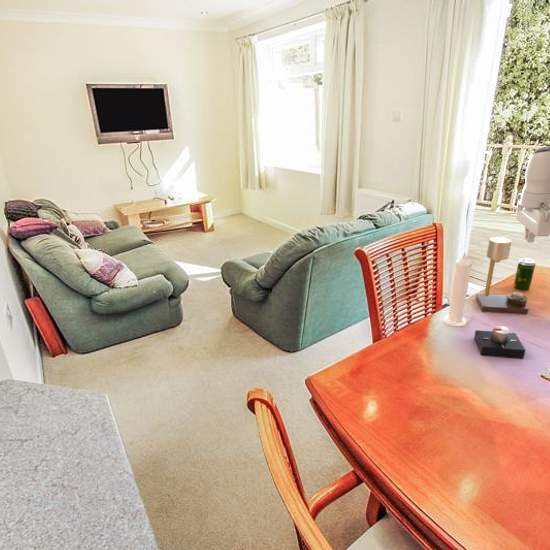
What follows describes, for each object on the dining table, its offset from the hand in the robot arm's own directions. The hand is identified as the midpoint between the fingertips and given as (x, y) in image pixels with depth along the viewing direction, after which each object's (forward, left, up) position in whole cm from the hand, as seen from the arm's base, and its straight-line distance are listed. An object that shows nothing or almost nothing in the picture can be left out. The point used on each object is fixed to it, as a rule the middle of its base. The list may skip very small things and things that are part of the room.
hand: (528, 241), depth 125 cm
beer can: (-5, -12, -24) cm, 28 cm away
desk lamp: (+9, +3, -20) cm, 22 cm away
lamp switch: (+1, +3, -20) cm, 20 cm away
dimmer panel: (+13, +30, -24) cm, 40 cm away
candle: (+23, +16, -24) cm, 36 cm away
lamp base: (+6, +3, -24) cm, 25 cm away
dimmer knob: (+13, +30, -21) cm, 38 cm away
